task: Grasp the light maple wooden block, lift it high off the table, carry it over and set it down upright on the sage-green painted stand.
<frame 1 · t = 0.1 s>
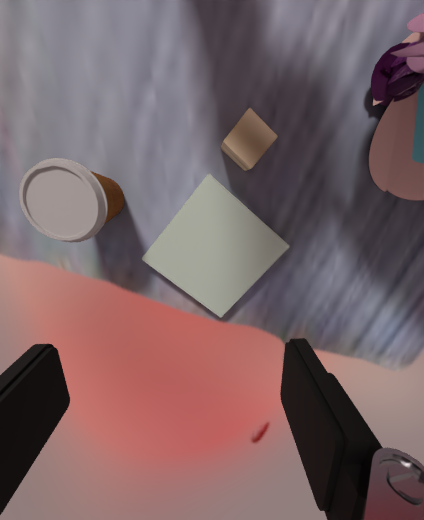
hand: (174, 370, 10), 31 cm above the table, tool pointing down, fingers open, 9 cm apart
maple block: (243, 146, 35), on the table
sage stand: (214, 247, 40), on the table
disposable coffee cup: (105, 197, 37), on the table
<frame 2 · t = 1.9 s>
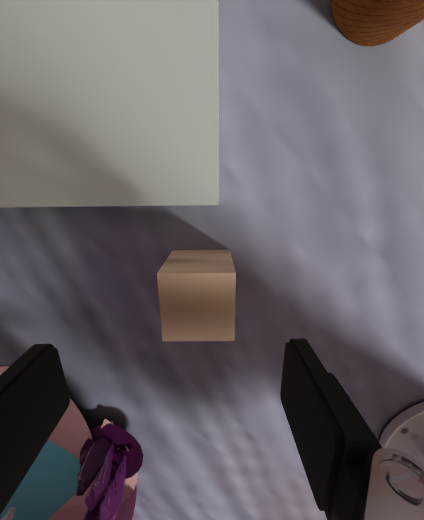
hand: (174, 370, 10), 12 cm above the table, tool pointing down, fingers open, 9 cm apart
maple block: (201, 276, 21), on the table
flower arrangement: (25, 435, 27), on the table
sage stand: (99, 82, 17), on the table
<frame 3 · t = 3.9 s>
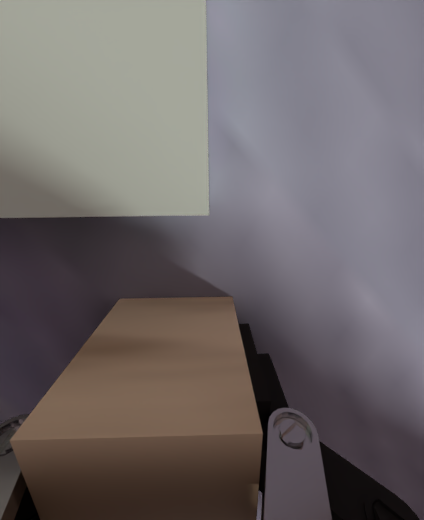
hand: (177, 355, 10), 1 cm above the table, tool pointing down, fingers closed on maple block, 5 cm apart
maple block: (179, 344, 11), on the table, touching gripper
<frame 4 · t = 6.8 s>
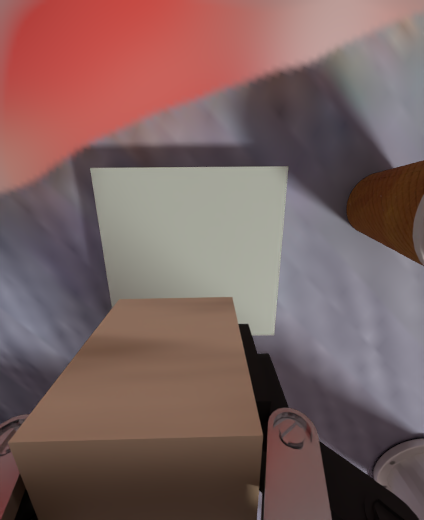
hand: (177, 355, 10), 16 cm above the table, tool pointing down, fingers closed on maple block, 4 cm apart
maple block: (179, 345, 11), point 15 cm above the table, touching gripper
sage stand: (194, 252, 25), on the table
disposable coffee cup: (375, 204, 24), on the table
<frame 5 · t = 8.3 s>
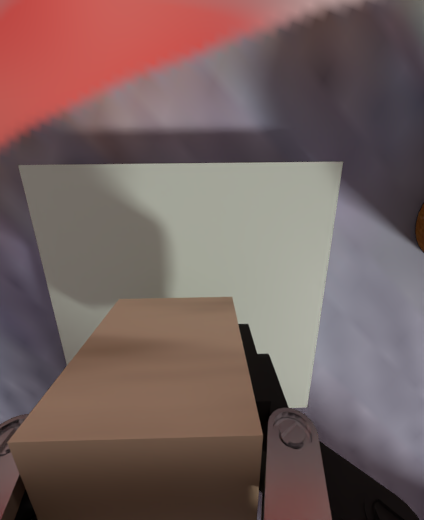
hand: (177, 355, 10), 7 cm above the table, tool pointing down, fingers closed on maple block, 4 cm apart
maple block: (178, 345, 11), point 7 cm above the table, touching gripper
sage stand: (191, 288, 18), on the table
when the fingers open (5 cm above the table, at t = 9.6 s): maple block drops 1 cm, resting on sage stand.
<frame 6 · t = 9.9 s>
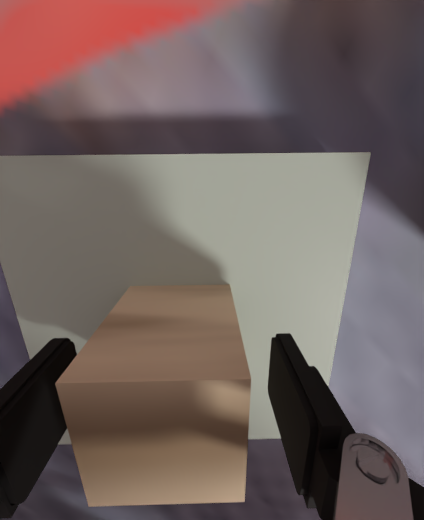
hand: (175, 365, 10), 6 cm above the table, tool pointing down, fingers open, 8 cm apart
maple block: (182, 328, 12), point 3 cm above the table, touching sage stand
sage stand: (186, 301, 15), on the table
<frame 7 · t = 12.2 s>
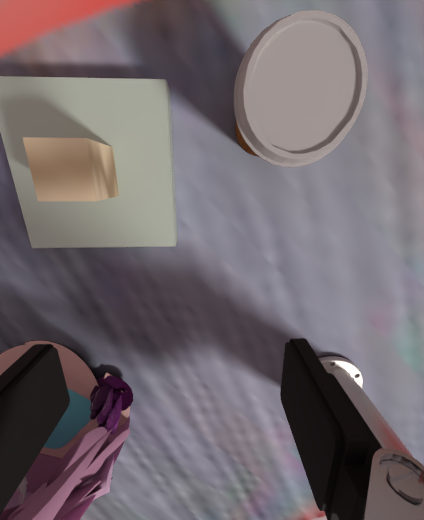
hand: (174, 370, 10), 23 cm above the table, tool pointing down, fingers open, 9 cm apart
maple block: (92, 172, 25), point 3 cm above the table, touching sage stand
flower arrangement: (50, 389, 39), on the table
sage stand: (103, 172, 28), on the table
disposable coffee cup: (261, 127, 27), on the table
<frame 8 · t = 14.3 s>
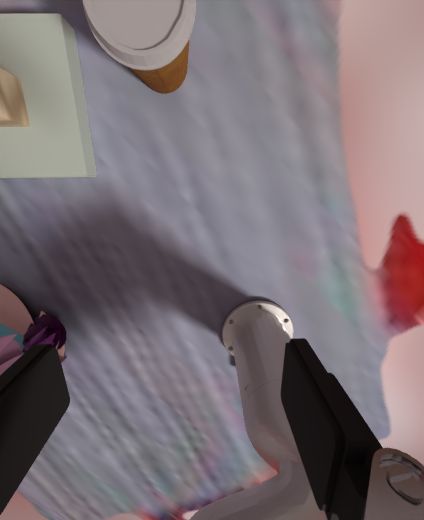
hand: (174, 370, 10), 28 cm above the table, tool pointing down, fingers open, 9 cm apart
maple block: (4, 103, 28), point 3 cm above the table, touching sage stand
sage stand: (22, 110, 31), on the table
disposable coffee cup: (163, 65, 30), on the table
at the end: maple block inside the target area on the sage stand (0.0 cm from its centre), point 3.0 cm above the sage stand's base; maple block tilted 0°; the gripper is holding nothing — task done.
